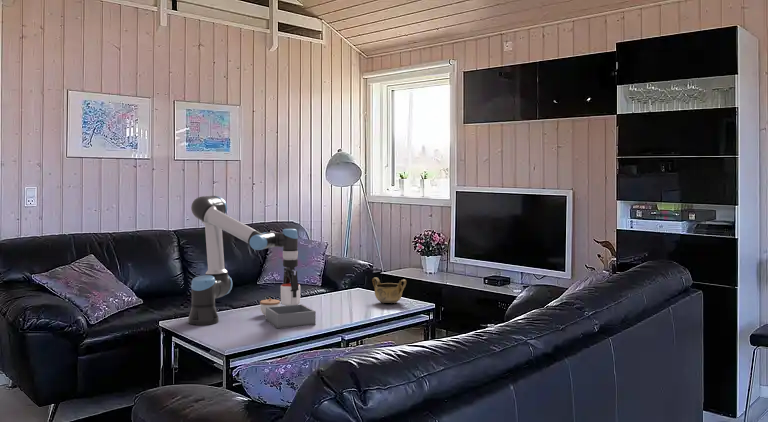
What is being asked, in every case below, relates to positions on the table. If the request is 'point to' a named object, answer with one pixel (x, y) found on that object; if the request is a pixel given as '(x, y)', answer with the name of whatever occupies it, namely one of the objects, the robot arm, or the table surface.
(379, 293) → the ceramic bowl
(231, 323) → the table surface
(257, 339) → the table surface
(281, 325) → the bin
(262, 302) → the lidded jar
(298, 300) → the cup
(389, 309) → the table surface
